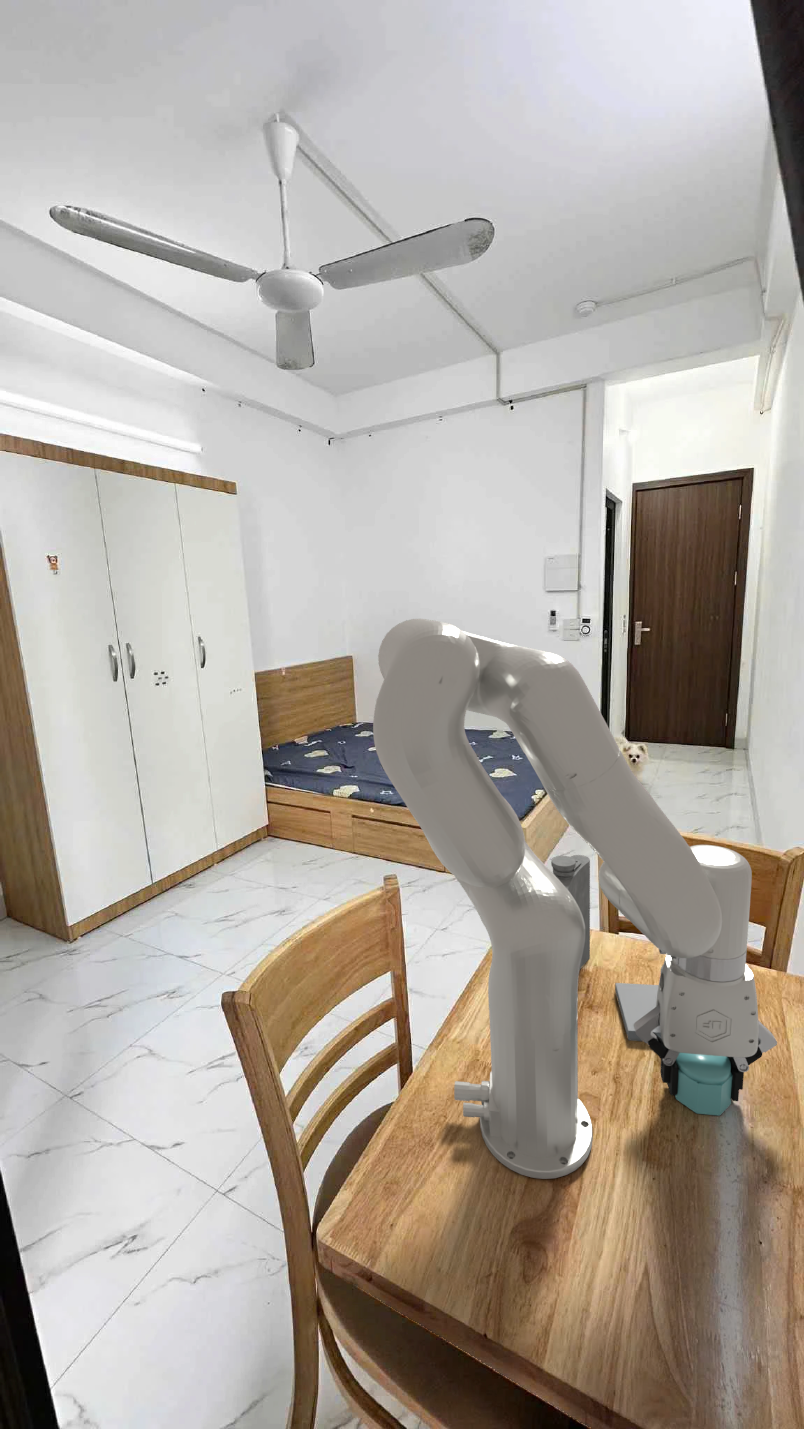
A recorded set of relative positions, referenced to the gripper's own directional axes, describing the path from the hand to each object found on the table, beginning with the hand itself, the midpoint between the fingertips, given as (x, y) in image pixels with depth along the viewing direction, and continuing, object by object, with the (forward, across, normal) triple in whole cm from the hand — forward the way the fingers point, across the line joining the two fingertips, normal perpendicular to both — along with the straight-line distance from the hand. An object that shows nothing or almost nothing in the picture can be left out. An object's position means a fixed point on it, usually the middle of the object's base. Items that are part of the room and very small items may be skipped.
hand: (700, 1087), depth 71 cm
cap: (+1, 0, 0) cm, 1 cm away
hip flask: (+1, -14, +21) cm, 25 cm away
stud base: (+1, 0, +13) cm, 13 cm away
